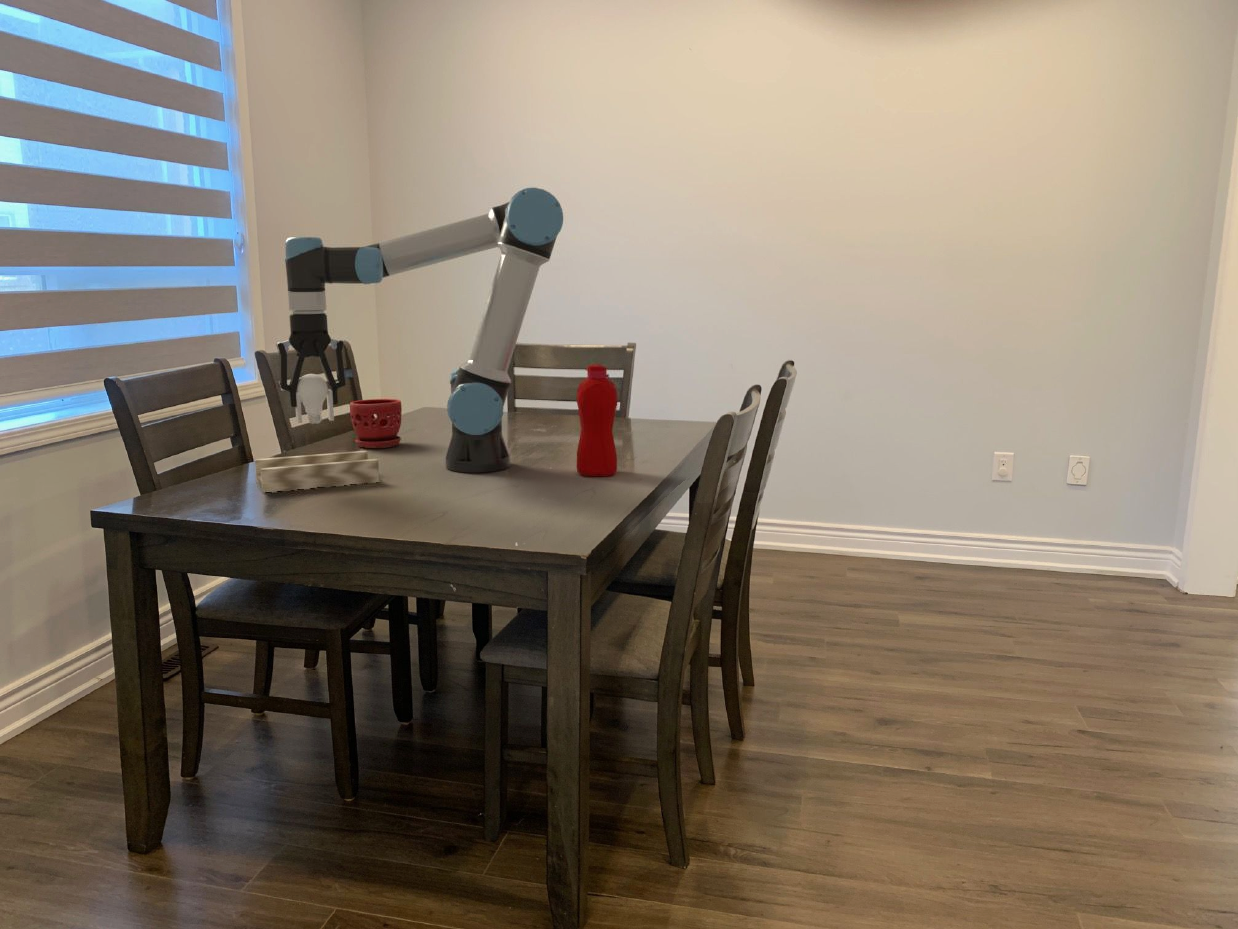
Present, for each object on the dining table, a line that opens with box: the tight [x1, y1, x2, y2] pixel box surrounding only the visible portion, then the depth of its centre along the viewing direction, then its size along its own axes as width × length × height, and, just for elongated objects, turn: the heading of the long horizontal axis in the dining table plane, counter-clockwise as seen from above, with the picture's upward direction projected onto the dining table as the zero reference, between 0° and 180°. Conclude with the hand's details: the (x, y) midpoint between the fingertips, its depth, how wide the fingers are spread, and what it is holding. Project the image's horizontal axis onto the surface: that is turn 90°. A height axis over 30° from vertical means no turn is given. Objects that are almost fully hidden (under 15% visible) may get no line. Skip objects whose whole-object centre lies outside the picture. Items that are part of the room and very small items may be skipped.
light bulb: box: [296, 373, 329, 425], centre depth 204 cm, size 7×7×11 cm
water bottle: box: [576, 363, 626, 477], centre depth 216 cm, size 9×11×25 cm
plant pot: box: [349, 398, 403, 449], centre depth 249 cm, size 13×13×12 cm
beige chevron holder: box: [254, 450, 380, 494], centre depth 207 cm, size 24×12×5 cm, turn 117°
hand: (315, 420), depth 205 cm, fingers closed on light bulb, 6 cm apart
